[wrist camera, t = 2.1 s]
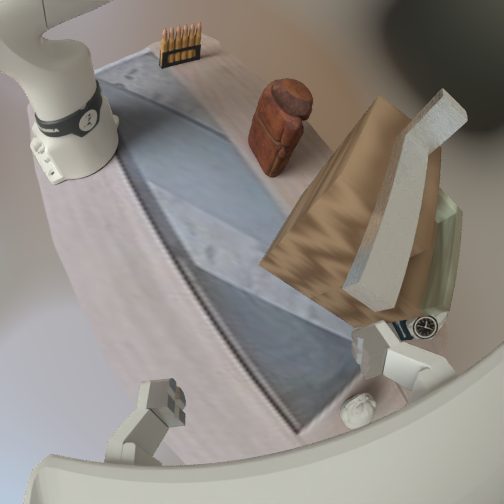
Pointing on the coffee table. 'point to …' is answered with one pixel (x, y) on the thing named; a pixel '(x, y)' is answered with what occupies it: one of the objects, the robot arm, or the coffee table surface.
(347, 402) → the white rough round lump
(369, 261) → the aluminium bracket
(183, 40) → the ammunition clip
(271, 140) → the wooden figurine
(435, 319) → the watch
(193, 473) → the robot arm
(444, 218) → the stepped shelf
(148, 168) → the coffee table surface
